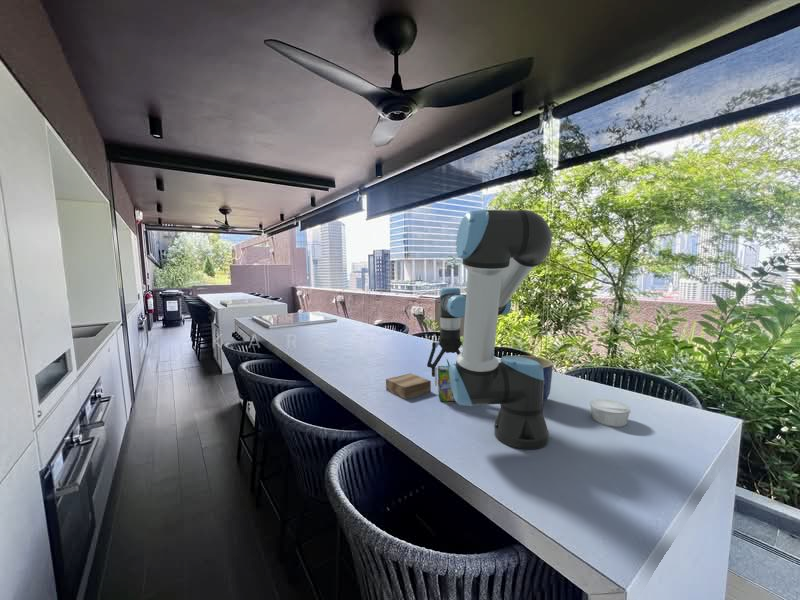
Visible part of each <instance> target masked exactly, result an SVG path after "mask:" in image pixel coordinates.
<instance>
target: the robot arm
mask: <svg viewBox="0 0 800 600" xmlns="http://www.w3.org/2000/svg"><path fill="white" fill-rule="evenodd" d="M455 241H456V242H455V245H456V249H455V251H456V255H457V256H456V257H458V258H459V259H462V263H461V264H462V266H464V267H465V269H466V270H467V280H466V294H461V289H460V288H459V287H442V288H441V289H440V295H439V303H440V304H439V305H440V307H439V308H440V314H439V315H440V316H439V317H440V318H439V320H440V321H439V323H440V324H439V325H440V326H439V327H440V331H439V333H440V340H439V341H435V340H433V341H432V344H431V345H432V346H431V347H432V348H431V351H430V355H429V357H428V360H427V364H426V367H427V368H430V369H431V377H434V387H438V366H437V365H438V364H439V362H440V361H441V358H442V357H443V356H444V354H445V353H446V354H450V353H452V354H454V353H456V354H457V356H456V358H455V360H456V361H455V362H456V363H452V364H449V365H450V367H449V377H450V384H451V389H452V393H453V396H454V399H455V401H454V402H456V404H458V405H459V406H470V407H473V406H484V405H485V406H487V405H489V406H490V405H500V409H499V412H498V414H497V418H496V420H495V423H494V426H493V427H494V428H493V433H494V436H495V438H496V439H497V440H498V441H500V442H501V443H502V444H505V445H507V446H510V447H513V448H516V449H517V448H518V449H523V450H537V449H540V448H541V449H542V448H544V447H546V446H547V445H548V444H549V441H550V433H549V429H548V426H547V422H546V420H545V416H544V409H543V408H544V402H543V385H544V373H543V367H542V365H541V364H540V363H538V362H537V361H534V360H531V359H528V358H524V357H518V356H519V355H503V356H501V357H500V362H499V360H498V358H497V357H496V356H495V347H496V339H497V338H496V337H497V326H498V317H499V316H505V315H508V314H509V313H510V312H511V308H512V300H511V298H512V297H513V296H514V295H515V293H516V292H517V291H518V289H519V288H520V286H522V284H523V283H524V281H525V279H526V278H527V277H528V276H529V274H530V273H531V272H532V270H533V269H534V268H536V267H538V266H540V265H542V263H543V262H544V261H545V259H546V258H547V257H548V255H549V253H550V251H551V248H552V241H553V237H552V231H551V228H550V226H549V224H548V222H547V221H546V220H545V218H543V216H541V214H538V213H536V212H534V211H531V210H527V209H525V210H524V209H519V210H517V209H516V210H511V209H509V210H508V209H507V210H505V209H501V210H500V209H479V210H470V211H468V212H467V213H465V214H464V216H463V217H462V219H461V221H460V223H459V227H458V229H457V234H456V240H455ZM462 318H464V322H463V338H462V340H461V329H460V328H461V319H462ZM439 346H440V348H441V350H440V352H439V353H438V355H437V356H436V358H435V359H434V362H433V363H432V361H433V358H434V356H435V352H436V348H438V347H439ZM461 346H462V349H461V350H462V351H461V350H460V347H461ZM436 366H437V367H436Z"/></svg>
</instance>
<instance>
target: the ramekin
mask: <svg viewBox="0 0 800 600" xmlns="http://www.w3.org/2000/svg"><path fill="white" fill-rule="evenodd" d="M589 406H590V410H591V411H590V412H591V417H592V419H593V420H594V421H595V422H597V423H598V424H601V425H603V426H607V427H613V428H614V427H615V428H620V427H624V426H625V425H627V424H628V420H629V416H630V413H631V408H630V406H628V405H627V404H625V403H623V402H621V401H618V400H614V399H607V398H594V399H592V400H591V401H590V402H589Z"/></svg>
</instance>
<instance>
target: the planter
mask: <svg viewBox="0 0 800 600" xmlns="http://www.w3.org/2000/svg"><path fill="white" fill-rule="evenodd" d="M517 356H518V357H524V358H528V359H531V360H534V361H537V362H538V363H540V364H541V365H542V367H543V373H544V385H543V403H544V402H546V401H547V400H548V398H549V396H550V394H551V388H552V377H553V368H554V363H553V361H552V360H550V359H547V358H546V357H545V358H544V357H541V356H536V355H535V356H532V355H517Z"/></svg>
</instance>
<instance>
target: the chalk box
mask: <svg viewBox="0 0 800 600" xmlns="http://www.w3.org/2000/svg"><path fill="white" fill-rule="evenodd" d="M446 361H447V365H438V366H437V395H438V399H439V401H440V402H441V403H442V402H444V403H445V402H456V401H455V399H454V396H453V393H452V389H451V384H450V377H449V367H450V365H451V364H450V362H449V359H446Z"/></svg>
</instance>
